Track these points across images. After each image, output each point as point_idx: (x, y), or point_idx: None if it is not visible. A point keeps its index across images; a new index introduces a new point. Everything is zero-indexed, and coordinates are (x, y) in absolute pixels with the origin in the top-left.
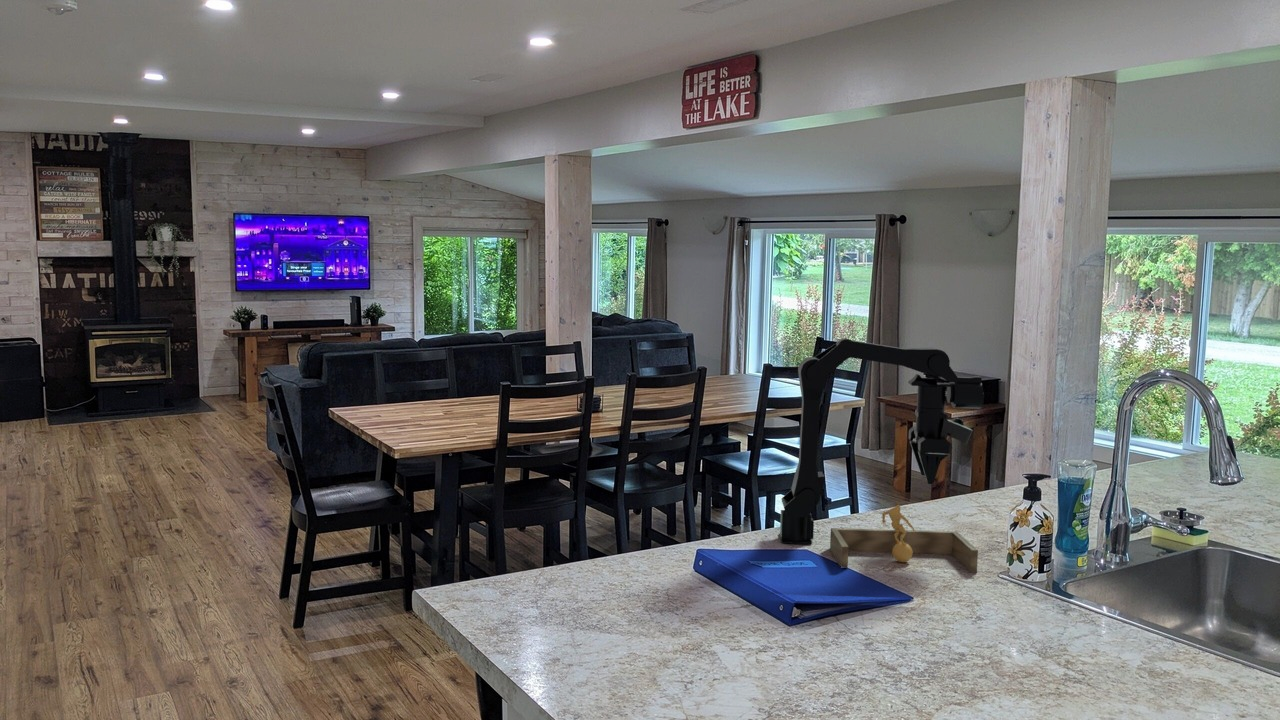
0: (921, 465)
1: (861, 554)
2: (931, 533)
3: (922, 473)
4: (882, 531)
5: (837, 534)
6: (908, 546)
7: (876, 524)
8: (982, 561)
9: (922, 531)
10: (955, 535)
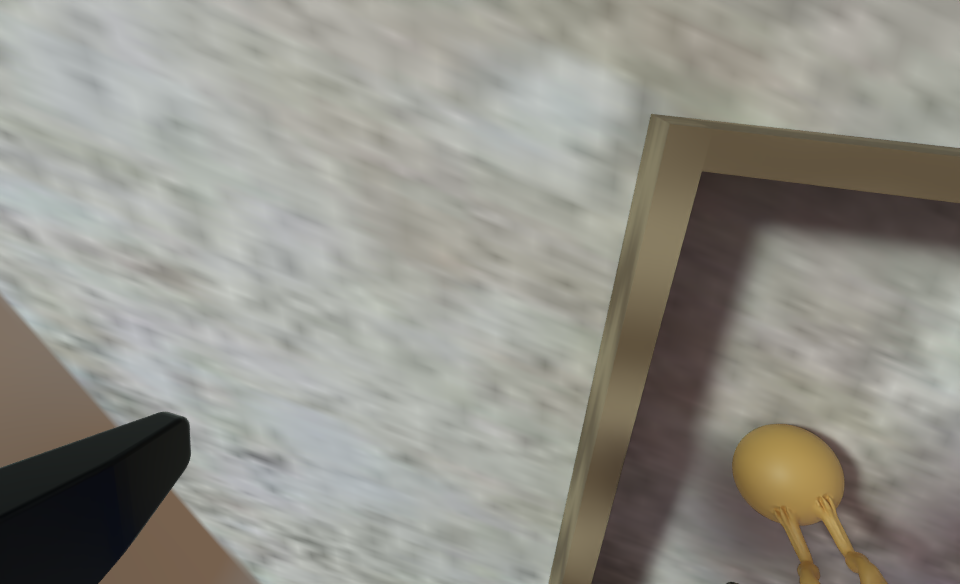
0: (73, 572)
1: (627, 532)
2: (664, 303)
3: (173, 470)
4: (604, 527)
5: None
6: (832, 485)
7: (160, 308)
8: (867, 17)
9: (639, 350)
10: (770, 179)
